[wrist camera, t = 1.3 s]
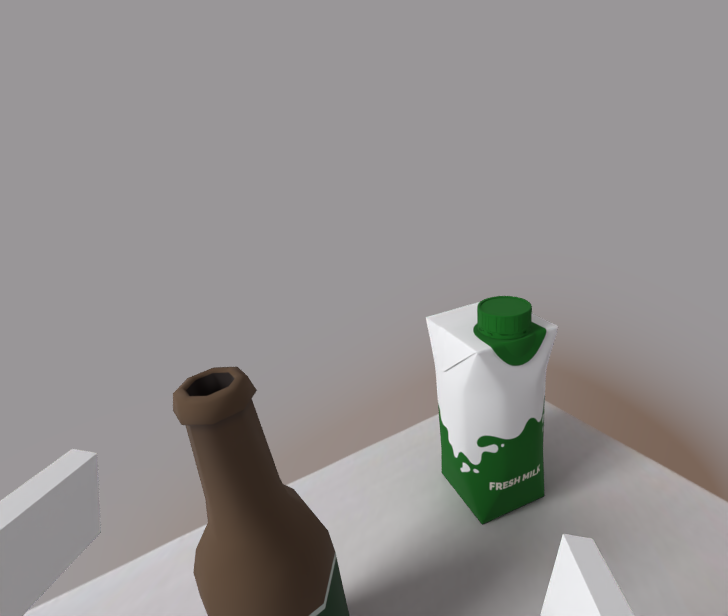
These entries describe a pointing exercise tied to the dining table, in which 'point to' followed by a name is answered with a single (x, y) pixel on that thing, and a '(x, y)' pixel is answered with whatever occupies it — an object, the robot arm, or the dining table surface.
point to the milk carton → (492, 401)
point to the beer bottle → (251, 512)
